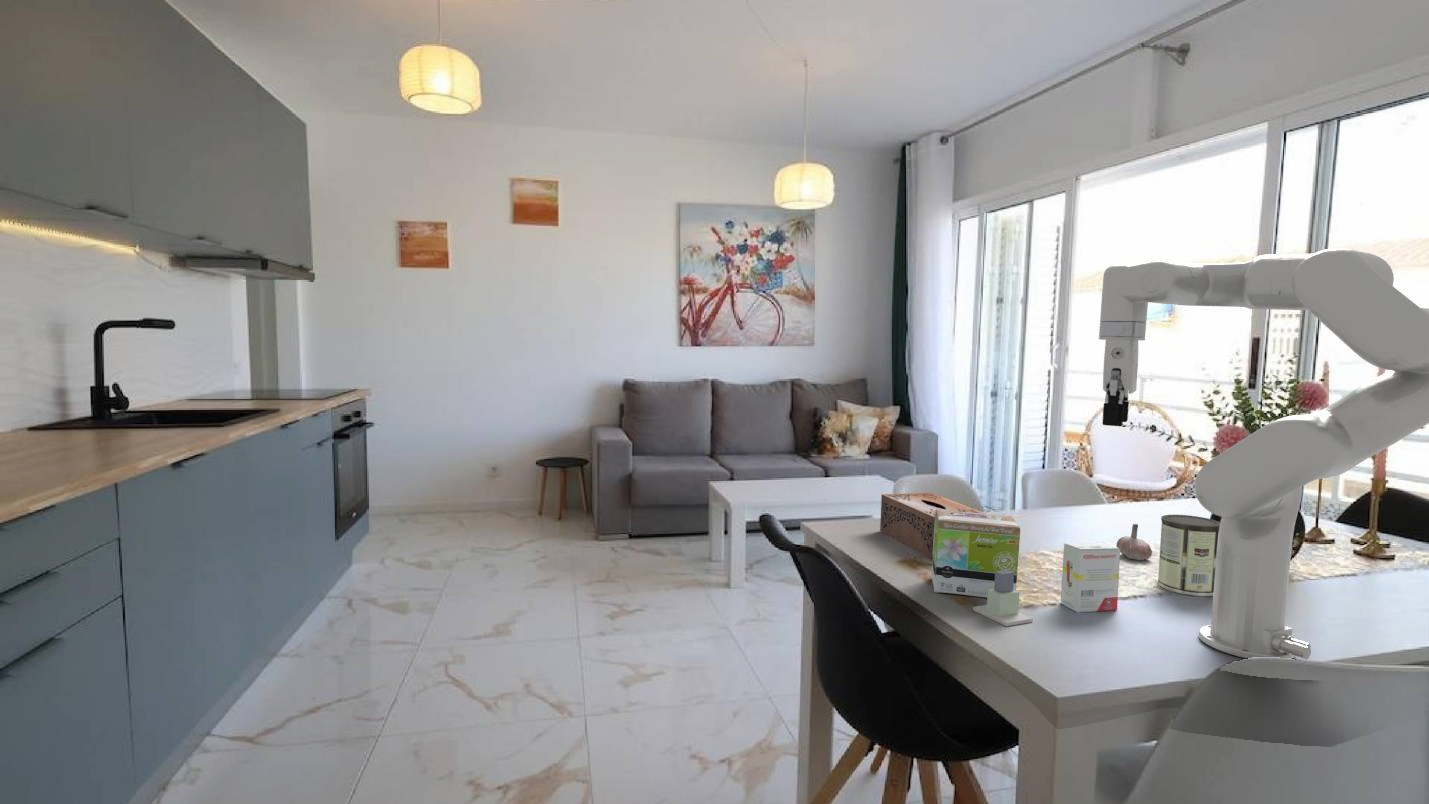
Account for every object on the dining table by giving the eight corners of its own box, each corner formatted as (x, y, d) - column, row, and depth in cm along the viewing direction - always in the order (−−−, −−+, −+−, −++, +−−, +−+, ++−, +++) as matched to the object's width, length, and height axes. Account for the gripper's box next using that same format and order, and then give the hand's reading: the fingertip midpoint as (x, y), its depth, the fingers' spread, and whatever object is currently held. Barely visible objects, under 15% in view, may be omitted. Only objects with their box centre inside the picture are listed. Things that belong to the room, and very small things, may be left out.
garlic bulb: (1121, 551, 172) (1124, 518, 171) (1156, 558, 166) (1158, 524, 166) (1111, 557, 166) (1113, 523, 166) (1146, 564, 161) (1148, 529, 161)
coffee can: (1182, 578, 151) (1187, 513, 150) (1230, 594, 142) (1235, 525, 140) (1144, 581, 149) (1149, 515, 147) (1189, 598, 139) (1195, 527, 138)
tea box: (933, 594, 138) (937, 519, 137) (930, 578, 148) (934, 508, 147) (1016, 602, 135) (1021, 525, 134) (1008, 585, 144) (1012, 513, 143)
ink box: (1099, 601, 136) (1103, 540, 135) (1118, 611, 131) (1122, 548, 130) (1058, 603, 135) (1062, 541, 134) (1076, 612, 130) (1080, 549, 129)
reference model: (1032, 621, 125) (1035, 577, 124) (1006, 626, 123) (1008, 580, 122) (998, 606, 132) (1000, 563, 132) (972, 610, 130) (975, 567, 129)
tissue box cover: (880, 532, 185) (881, 494, 185) (929, 529, 189) (931, 492, 188) (934, 561, 160) (936, 518, 160) (989, 558, 164) (992, 515, 163)
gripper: (1141, 331, 124) (1134, 429, 125) (1148, 333, 138) (1141, 421, 139) (1093, 330, 128) (1086, 425, 129) (1104, 333, 142) (1098, 418, 144)
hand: (1115, 423), depth 134 cm, fingers open, 9 cm apart
